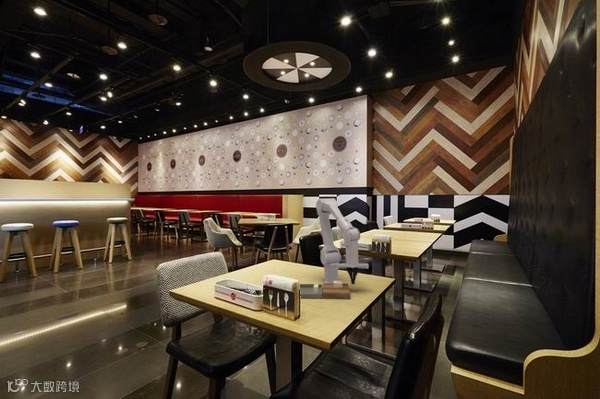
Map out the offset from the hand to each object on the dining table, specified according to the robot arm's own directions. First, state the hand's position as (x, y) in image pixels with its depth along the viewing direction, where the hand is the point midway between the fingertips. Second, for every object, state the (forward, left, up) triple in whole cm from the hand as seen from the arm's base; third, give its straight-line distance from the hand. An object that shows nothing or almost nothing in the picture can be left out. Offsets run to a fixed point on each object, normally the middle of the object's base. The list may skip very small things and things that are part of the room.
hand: (352, 283), depth 124 cm
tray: (+3, -20, -4) cm, 21 cm away
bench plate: (+3, -8, -4) cm, 9 cm away
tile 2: (0, -7, -1) cm, 7 cm away
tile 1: (+6, -16, -1) cm, 17 cm away
